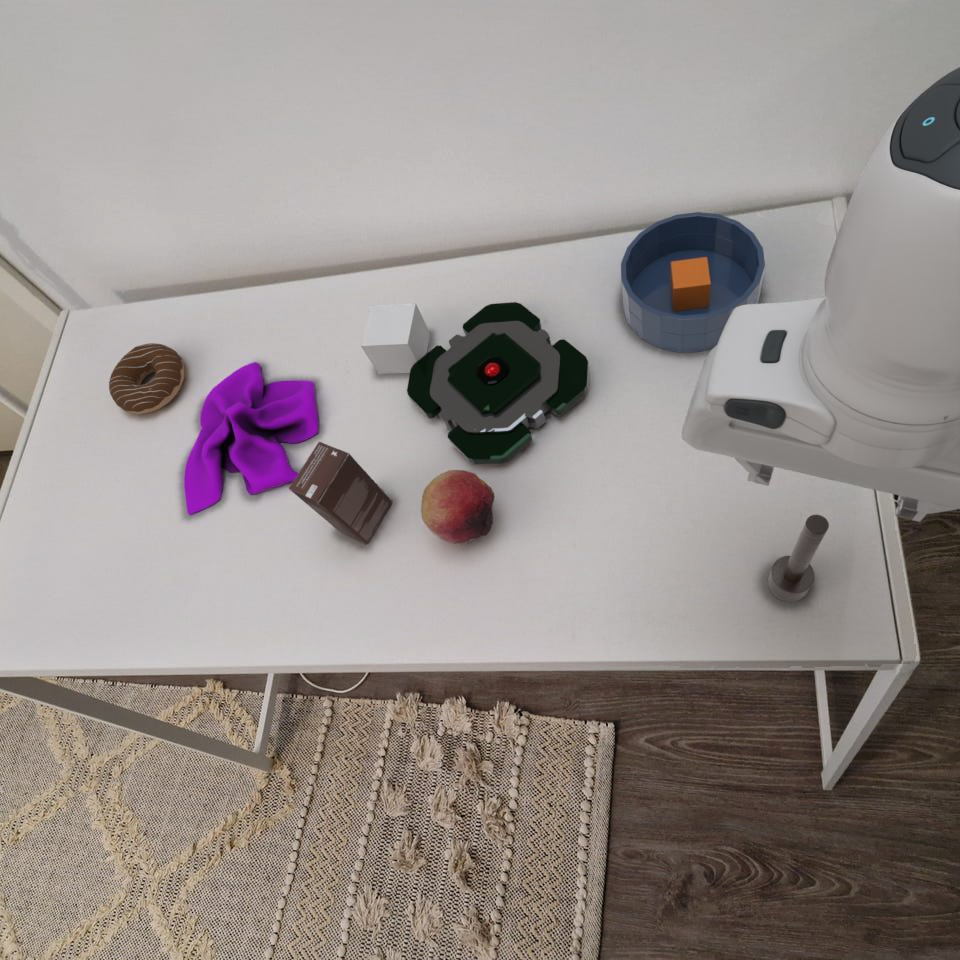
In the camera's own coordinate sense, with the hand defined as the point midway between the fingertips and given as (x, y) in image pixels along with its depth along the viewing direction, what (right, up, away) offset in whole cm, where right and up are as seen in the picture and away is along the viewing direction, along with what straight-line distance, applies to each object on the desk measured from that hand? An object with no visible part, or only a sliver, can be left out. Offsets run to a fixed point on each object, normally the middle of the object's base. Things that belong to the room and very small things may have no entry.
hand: (831, 491), depth 48 cm
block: (0, +22, +34) cm, 41 cm away
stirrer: (+5, -9, +18) cm, 21 cm away
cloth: (-54, +6, +41) cm, 68 cm away
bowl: (+1, +22, +35) cm, 41 cm away
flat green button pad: (-22, +12, +36) cm, 44 cm away
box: (-37, -4, +32) cm, 50 cm away
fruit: (-25, -4, +29) cm, 39 cm away
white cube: (-34, +17, +42) cm, 56 cm away
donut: (-69, +14, +49) cm, 86 cm away
